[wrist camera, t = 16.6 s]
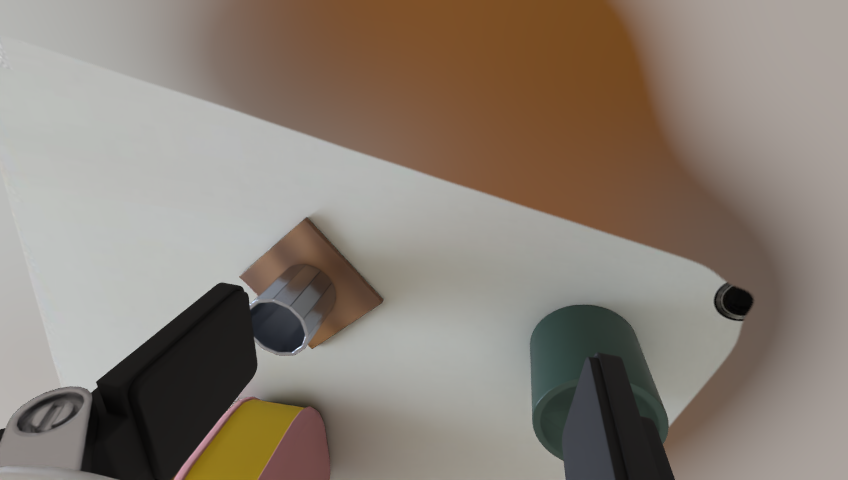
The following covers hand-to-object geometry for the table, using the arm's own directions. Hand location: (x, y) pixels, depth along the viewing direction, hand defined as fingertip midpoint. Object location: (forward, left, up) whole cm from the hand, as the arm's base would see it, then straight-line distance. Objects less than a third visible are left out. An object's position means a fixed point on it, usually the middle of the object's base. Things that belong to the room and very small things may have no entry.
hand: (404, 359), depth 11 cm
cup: (+25, +1, -28) cm, 37 cm away
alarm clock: (+45, +16, -28) cm, 56 cm away
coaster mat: (+25, +1, -28) cm, 38 cm away
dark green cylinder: (+5, +23, -28) cm, 37 cm away
